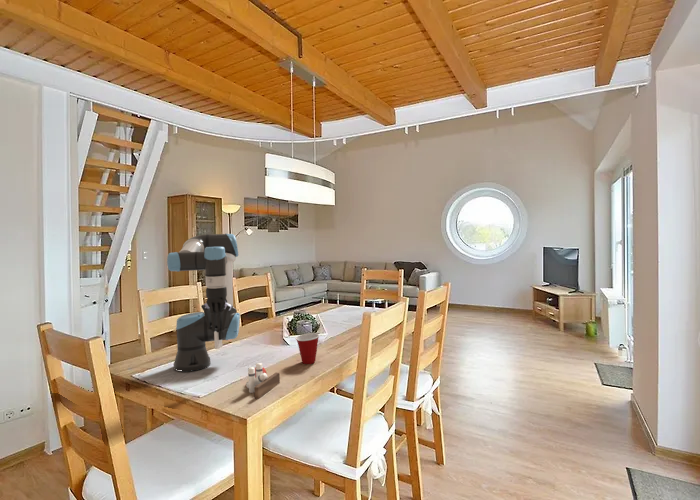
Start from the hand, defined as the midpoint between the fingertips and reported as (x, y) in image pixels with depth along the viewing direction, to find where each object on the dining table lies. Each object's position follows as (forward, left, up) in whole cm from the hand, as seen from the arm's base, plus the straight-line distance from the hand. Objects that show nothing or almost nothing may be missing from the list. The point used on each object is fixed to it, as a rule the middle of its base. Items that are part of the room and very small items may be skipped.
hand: (218, 347), depth 150 cm
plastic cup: (+22, +33, -15) cm, 42 cm away
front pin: (+13, 0, -13) cm, 18 cm away
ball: (+13, +6, -11) cm, 19 cm away
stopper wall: (+21, 0, -14) cm, 25 cm away
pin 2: (+16, +2, -14) cm, 22 cm away
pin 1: (+16, -3, -14) cm, 22 cm away
